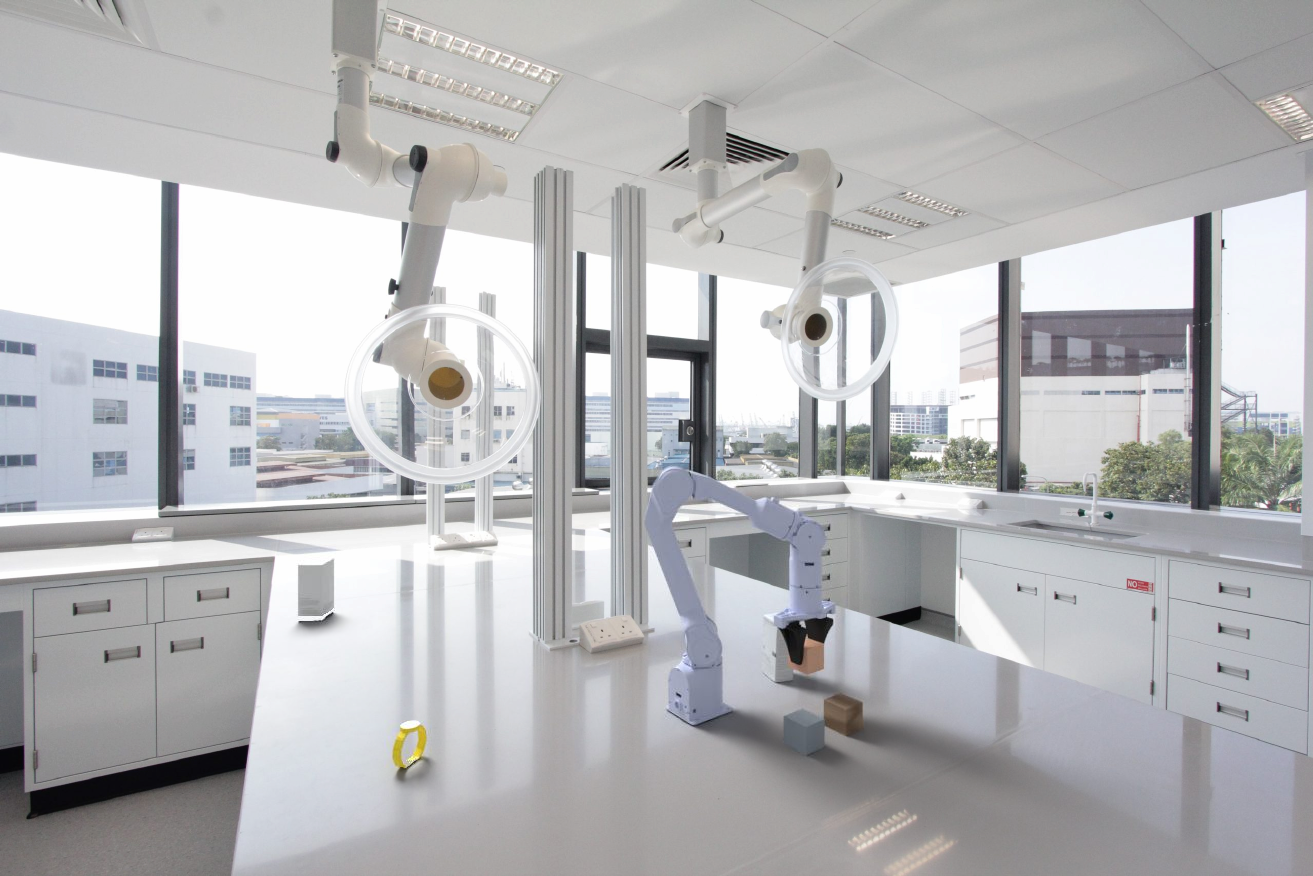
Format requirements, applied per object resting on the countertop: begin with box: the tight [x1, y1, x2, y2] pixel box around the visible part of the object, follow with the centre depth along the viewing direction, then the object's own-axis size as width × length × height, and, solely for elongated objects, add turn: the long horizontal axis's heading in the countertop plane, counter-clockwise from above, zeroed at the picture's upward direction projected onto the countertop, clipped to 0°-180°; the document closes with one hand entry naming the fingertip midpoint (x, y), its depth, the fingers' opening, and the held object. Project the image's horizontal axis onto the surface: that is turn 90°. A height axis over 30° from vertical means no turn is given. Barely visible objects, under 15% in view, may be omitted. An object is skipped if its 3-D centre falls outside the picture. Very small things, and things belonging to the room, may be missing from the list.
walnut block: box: [823, 692, 864, 737], centre depth 101 cm, size 4×4×4 cm
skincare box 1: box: [297, 557, 335, 617], centre depth 163 cm, size 8×7×16 cm
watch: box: [391, 720, 428, 769], centre depth 91 cm, size 6×3×6 cm, turn 163°
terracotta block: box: [788, 637, 825, 676], centre depth 108 cm, size 4×4×4 cm
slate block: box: [783, 708, 826, 756], centre depth 95 cm, size 4×4×4 cm
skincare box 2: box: [761, 612, 794, 683], centre depth 122 cm, size 6×4×12 cm
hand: (805, 659), depth 108 cm, fingers closed on terracotta block, 4 cm apart
